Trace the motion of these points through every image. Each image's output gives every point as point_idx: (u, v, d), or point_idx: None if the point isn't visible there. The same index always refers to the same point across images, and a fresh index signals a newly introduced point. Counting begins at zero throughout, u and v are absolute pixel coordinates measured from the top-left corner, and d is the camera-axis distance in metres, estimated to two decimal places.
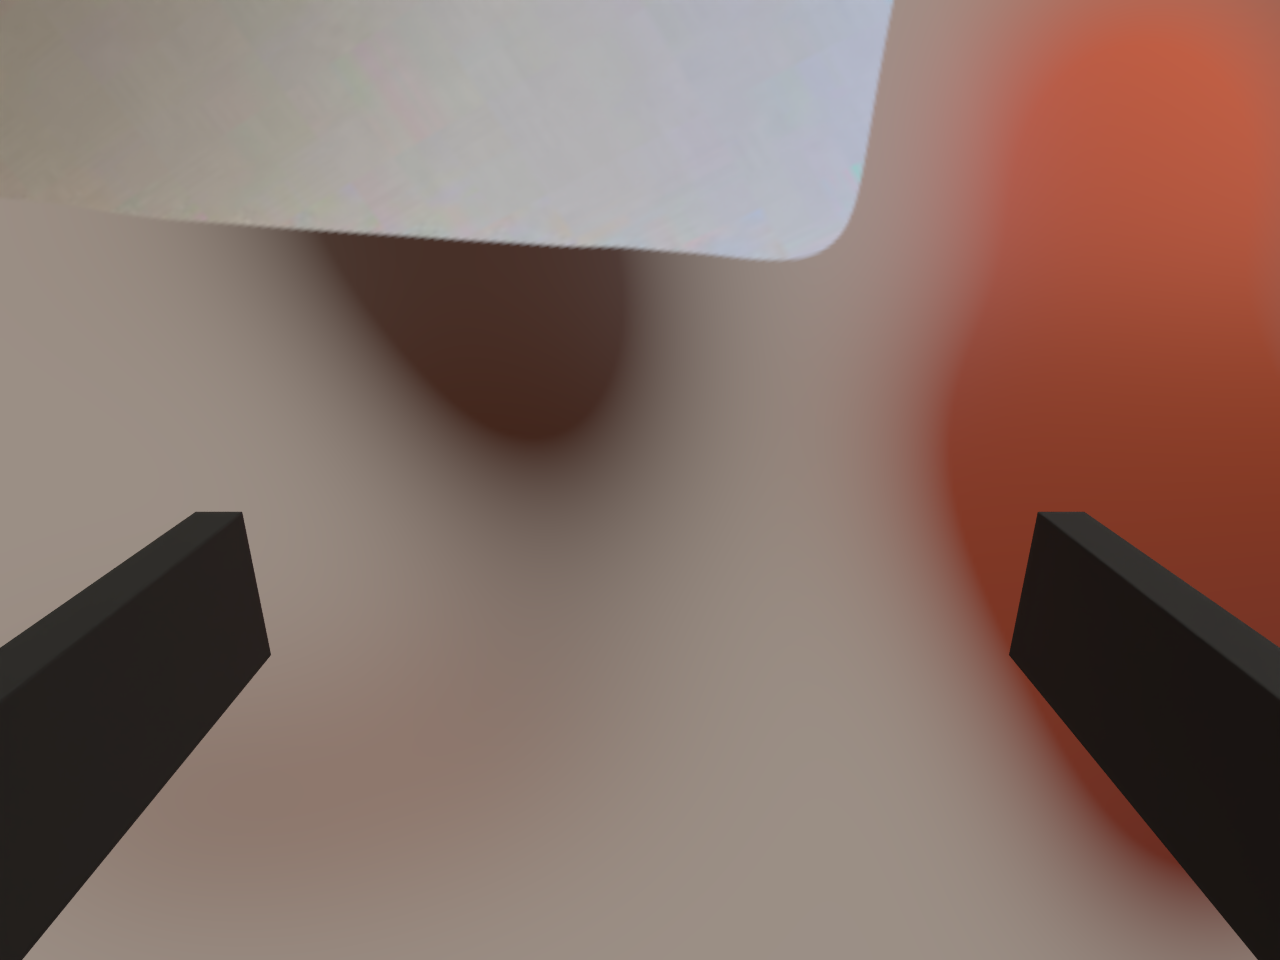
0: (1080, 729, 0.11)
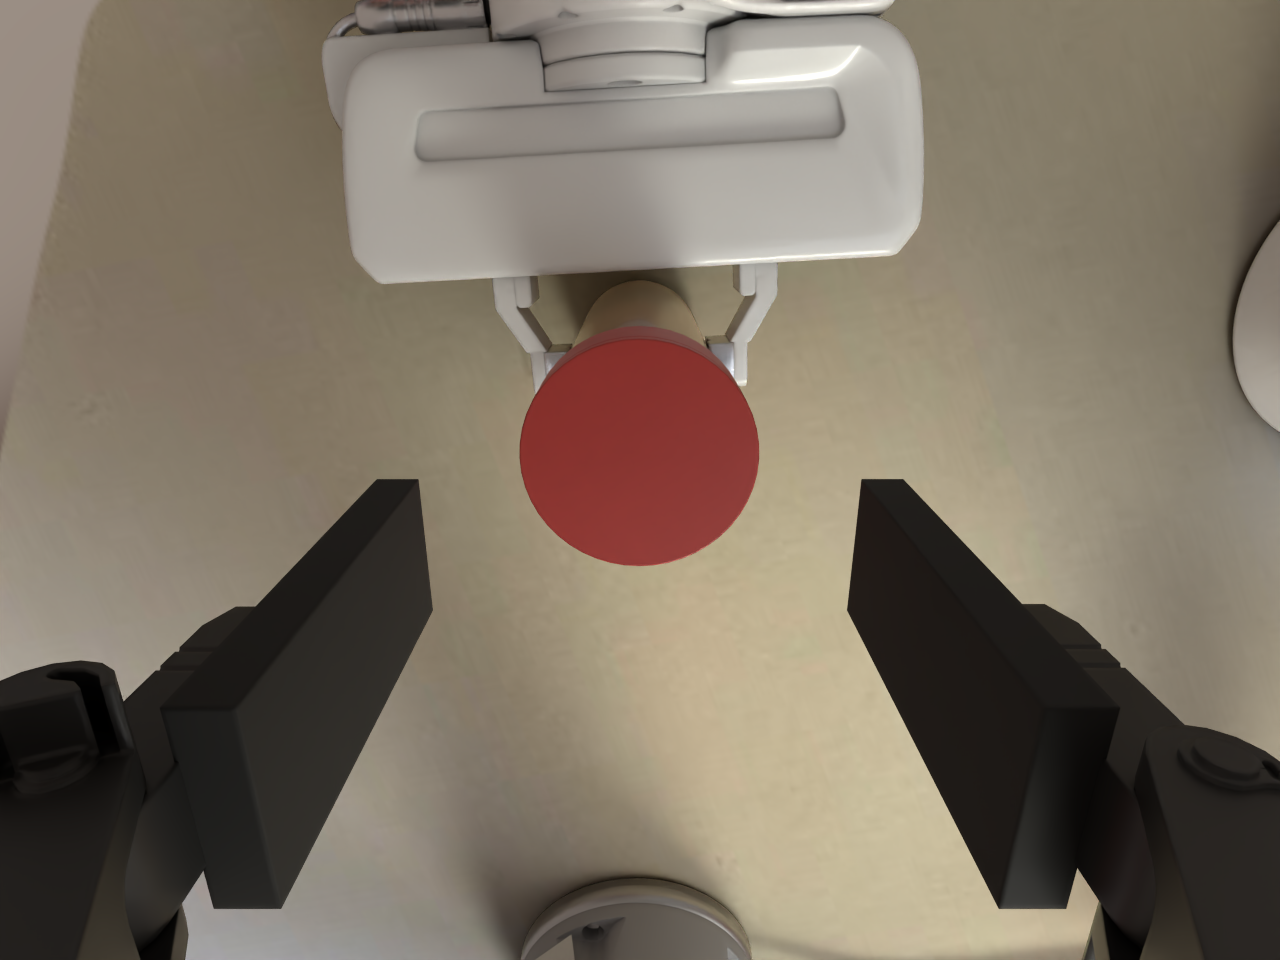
0: (882, 668, 0.12)
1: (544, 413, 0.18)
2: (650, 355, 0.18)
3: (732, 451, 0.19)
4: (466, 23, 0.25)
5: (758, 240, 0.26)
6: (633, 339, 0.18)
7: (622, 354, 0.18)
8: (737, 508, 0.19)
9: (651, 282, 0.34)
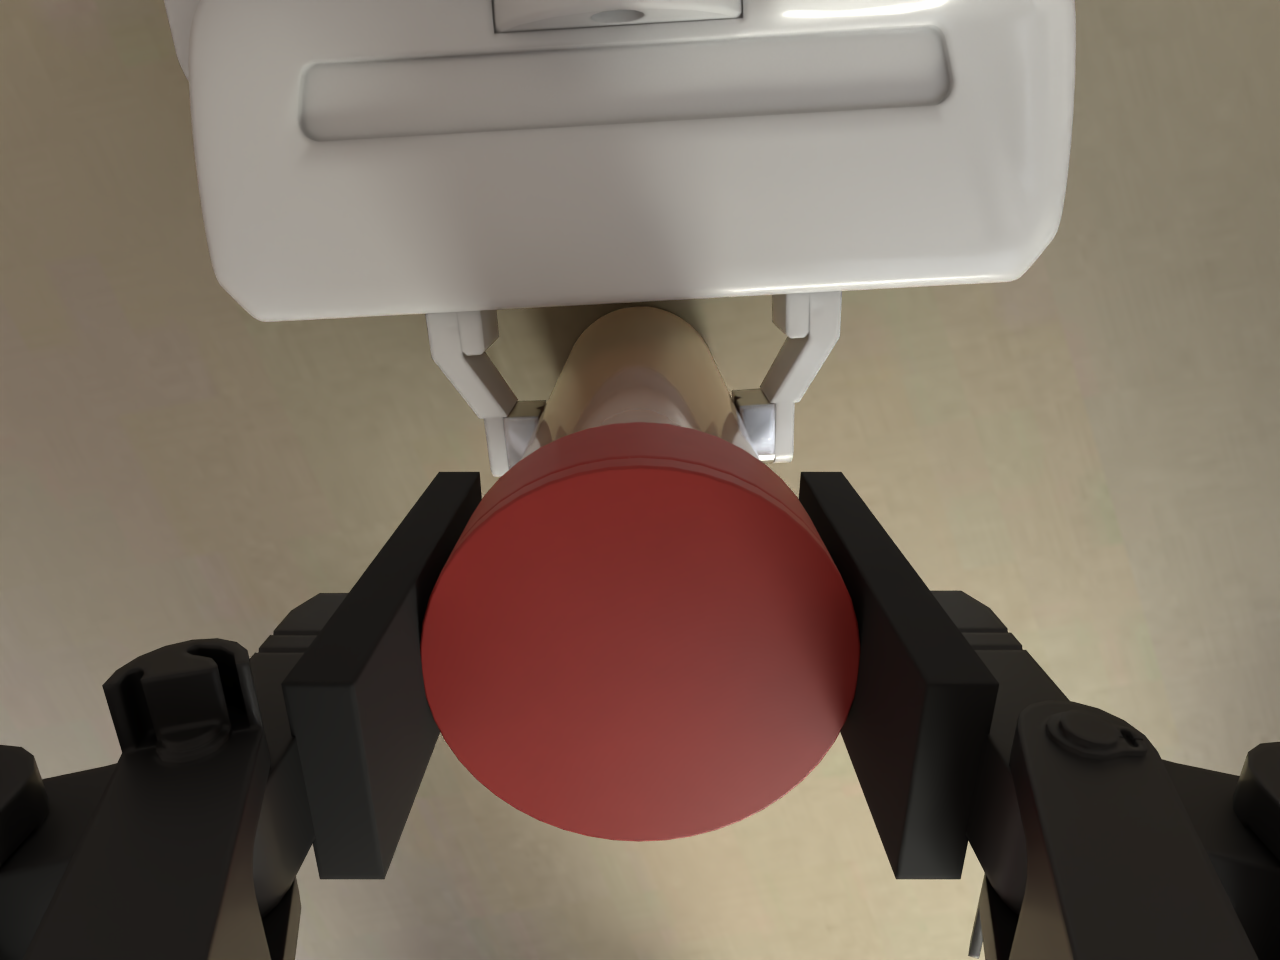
0: None
1: (462, 597, 0.10)
2: (661, 496, 0.09)
3: (811, 661, 0.10)
4: None
5: (817, 259, 0.17)
6: (628, 466, 0.09)
7: (607, 494, 0.09)
8: (816, 752, 0.11)
9: (656, 309, 0.25)
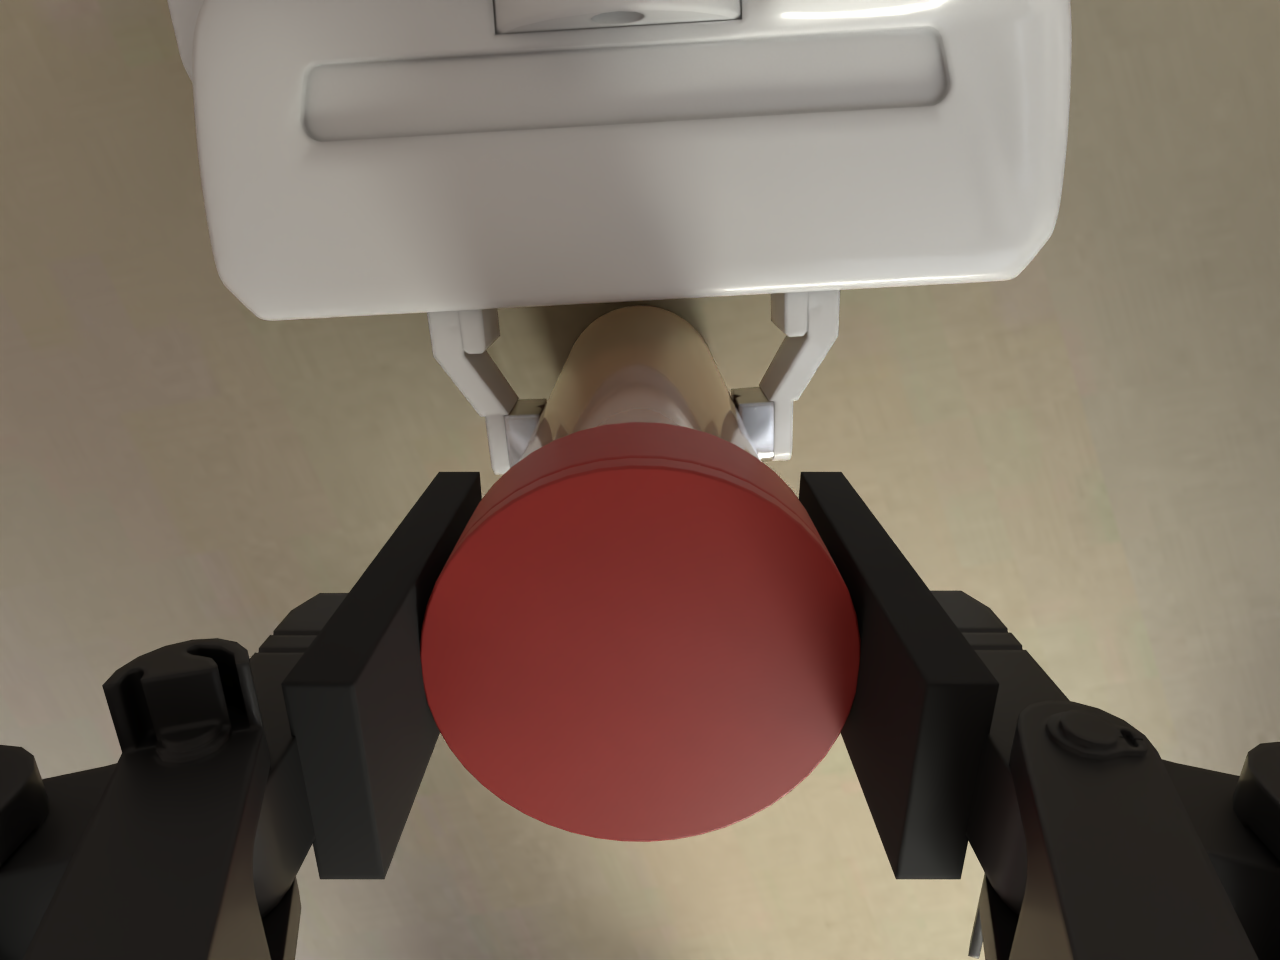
0: None
1: (634, 821, 0.11)
2: (463, 726, 0.10)
3: (548, 538, 0.10)
4: None
5: (815, 258, 0.18)
6: (455, 754, 0.11)
7: (485, 761, 0.11)
8: (652, 477, 0.09)
9: (655, 308, 0.25)
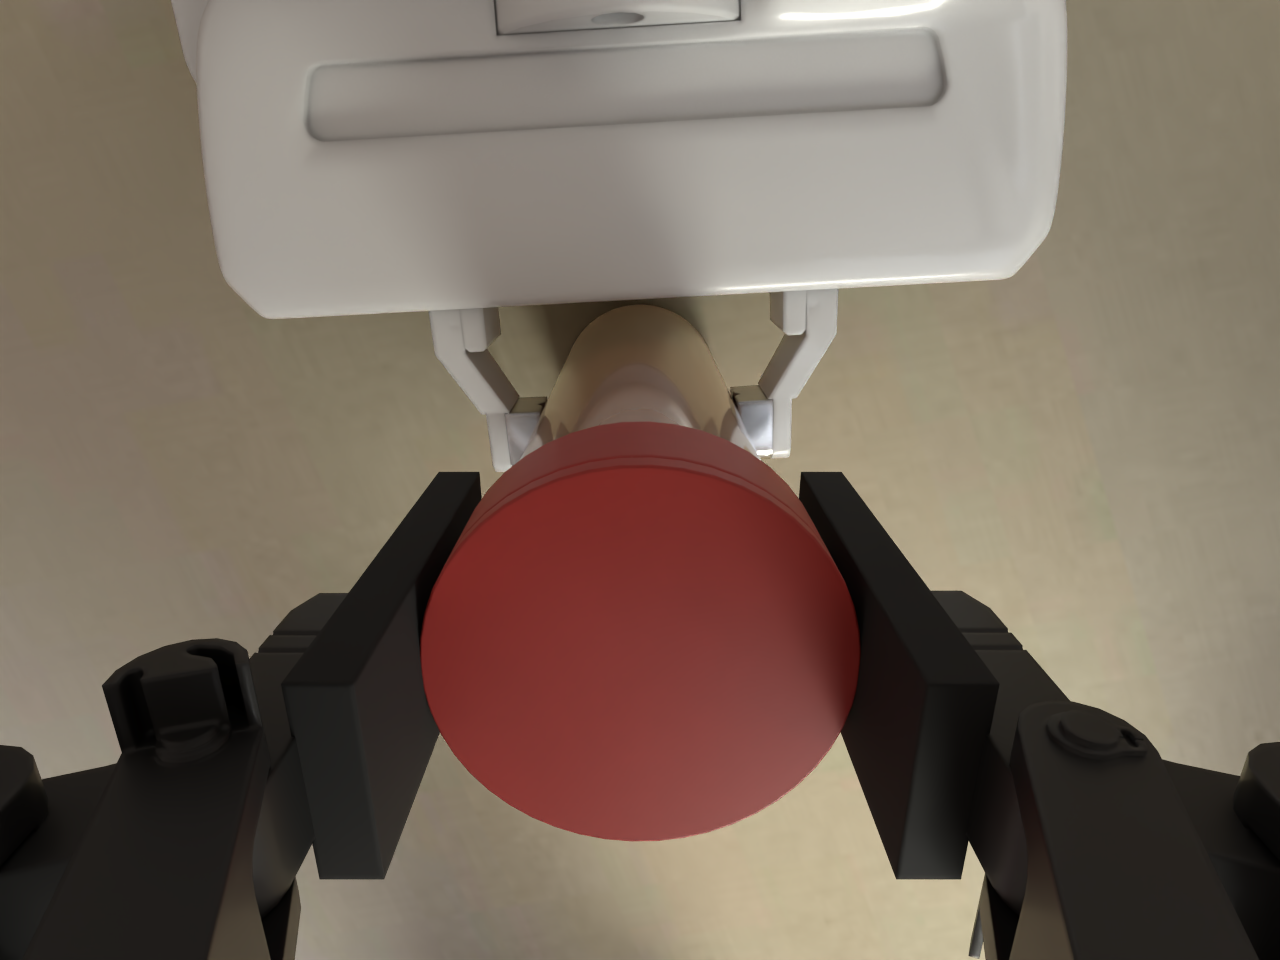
0: None
1: (822, 606, 0.10)
2: (766, 783, 0.11)
3: (547, 784, 0.11)
4: None
5: (814, 257, 0.18)
6: (803, 777, 0.11)
7: (799, 755, 0.11)
8: (452, 736, 0.11)
9: (655, 307, 0.26)
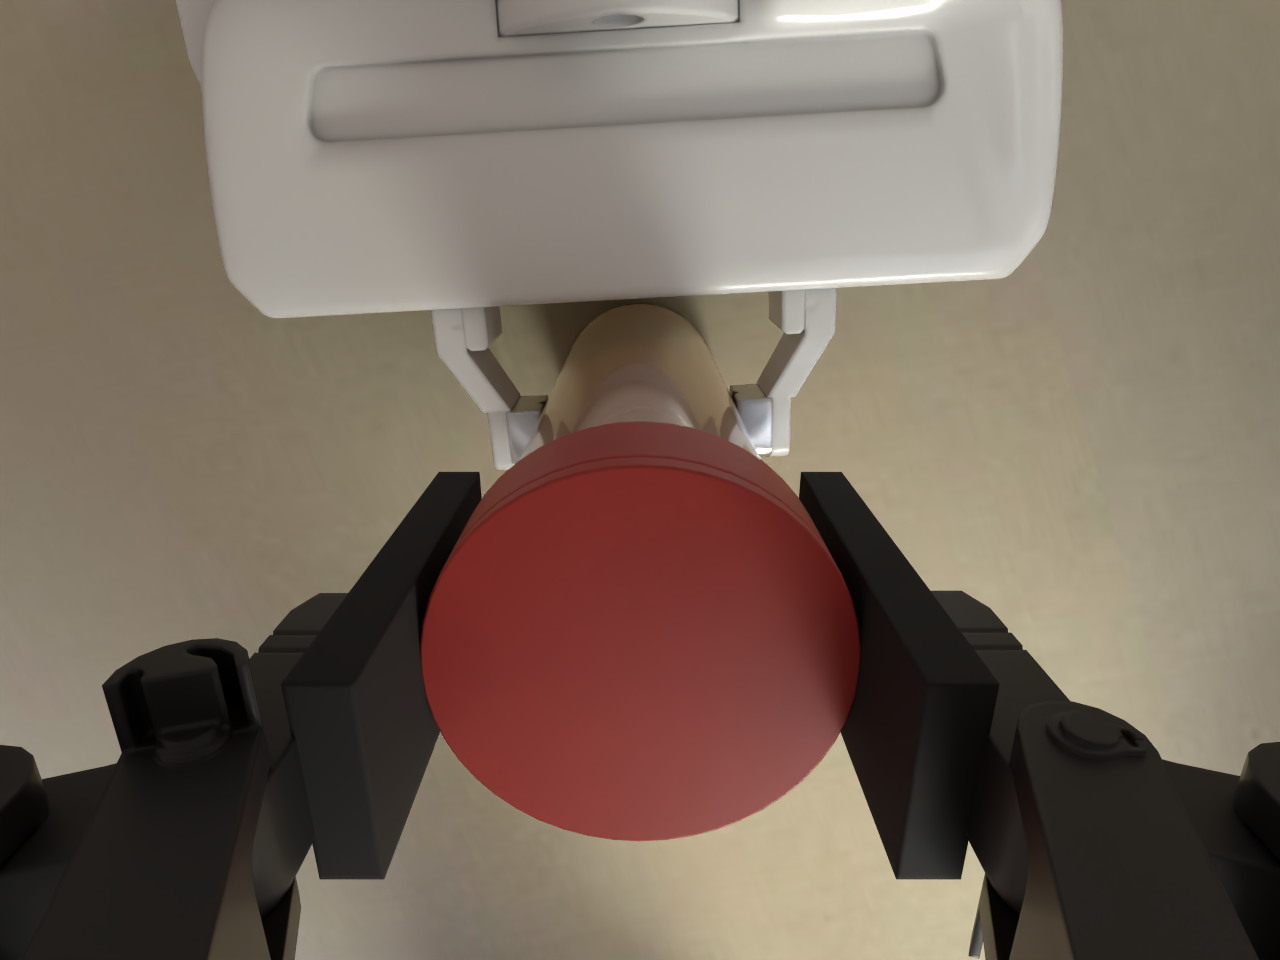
0: None
1: (489, 557, 0.10)
2: (715, 507, 0.09)
3: (806, 698, 0.10)
4: None
5: (812, 257, 0.18)
6: (692, 470, 0.09)
7: (664, 492, 0.09)
8: (783, 786, 0.11)
9: (655, 307, 0.26)
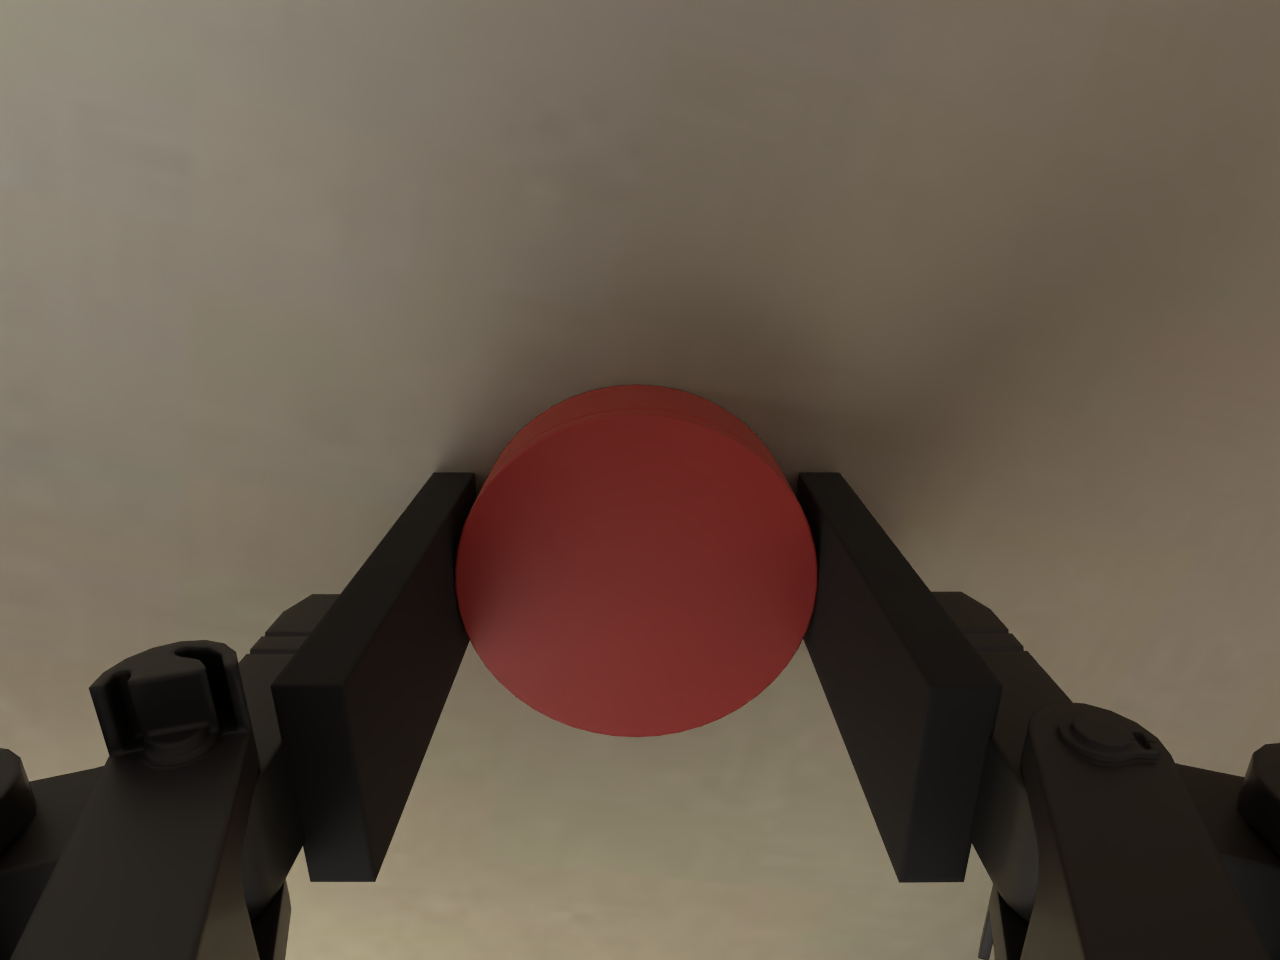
0: (815, 656, 0.13)
1: (513, 492, 0.12)
2: (697, 449, 0.12)
3: (773, 611, 0.13)
4: None
5: None
6: (678, 419, 0.11)
7: (656, 437, 0.11)
8: (755, 687, 0.13)
9: None
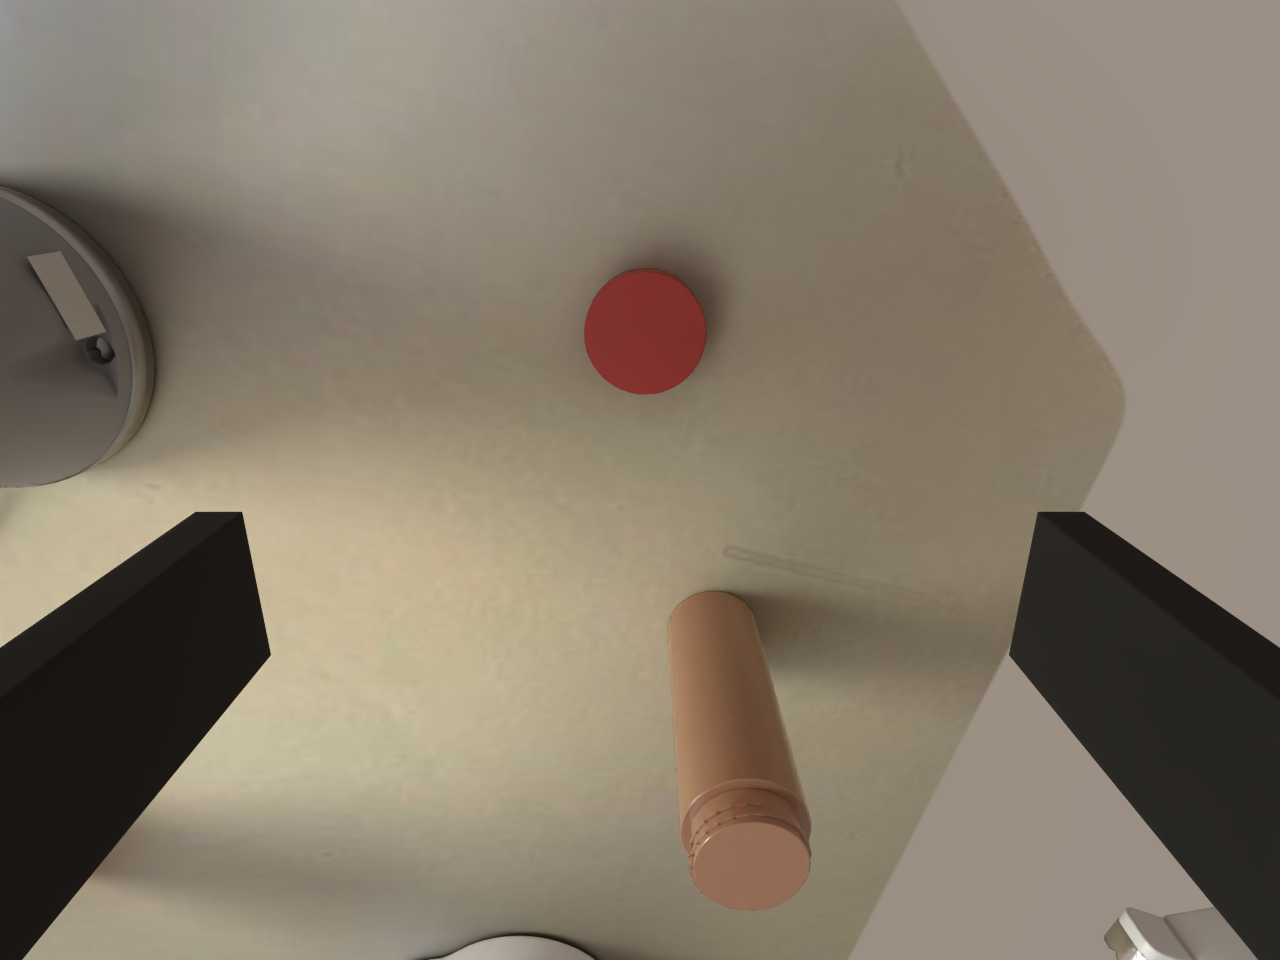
0: (1080, 729, 0.11)
1: (605, 298, 0.36)
2: (664, 283, 0.36)
3: (691, 343, 0.37)
4: None
5: None
6: (658, 273, 0.36)
7: (651, 279, 0.36)
8: (686, 373, 0.38)
9: None
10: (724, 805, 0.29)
